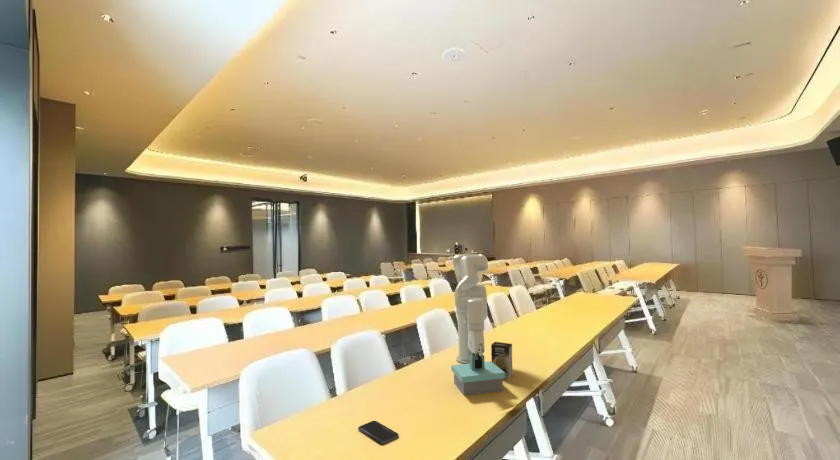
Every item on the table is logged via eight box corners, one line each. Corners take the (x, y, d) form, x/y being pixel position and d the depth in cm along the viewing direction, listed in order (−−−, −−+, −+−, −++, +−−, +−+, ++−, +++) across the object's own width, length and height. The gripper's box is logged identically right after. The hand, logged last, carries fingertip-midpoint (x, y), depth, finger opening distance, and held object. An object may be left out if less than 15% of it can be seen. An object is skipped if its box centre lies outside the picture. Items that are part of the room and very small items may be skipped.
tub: (454, 385, 175) (453, 367, 175) (490, 381, 178) (489, 364, 179) (463, 397, 161) (463, 378, 161) (502, 392, 165) (502, 374, 165)
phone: (381, 443, 124) (357, 427, 135) (381, 446, 124) (357, 430, 135) (400, 434, 130) (374, 419, 141) (400, 437, 130) (375, 422, 141)
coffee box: (491, 377, 183) (490, 344, 184) (495, 373, 189) (494, 341, 189) (509, 380, 179) (508, 346, 180) (513, 376, 185) (512, 343, 185)
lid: (451, 370, 176) (451, 352, 176) (490, 366, 180) (490, 348, 180) (462, 382, 160) (461, 362, 160) (504, 378, 164) (504, 358, 165)
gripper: (462, 323, 178) (463, 361, 177) (474, 331, 162) (475, 373, 161) (477, 322, 179) (478, 360, 179) (490, 329, 163) (491, 372, 163)
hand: (477, 366), depth 170 cm, fingers closed on lid, 3 cm apart
